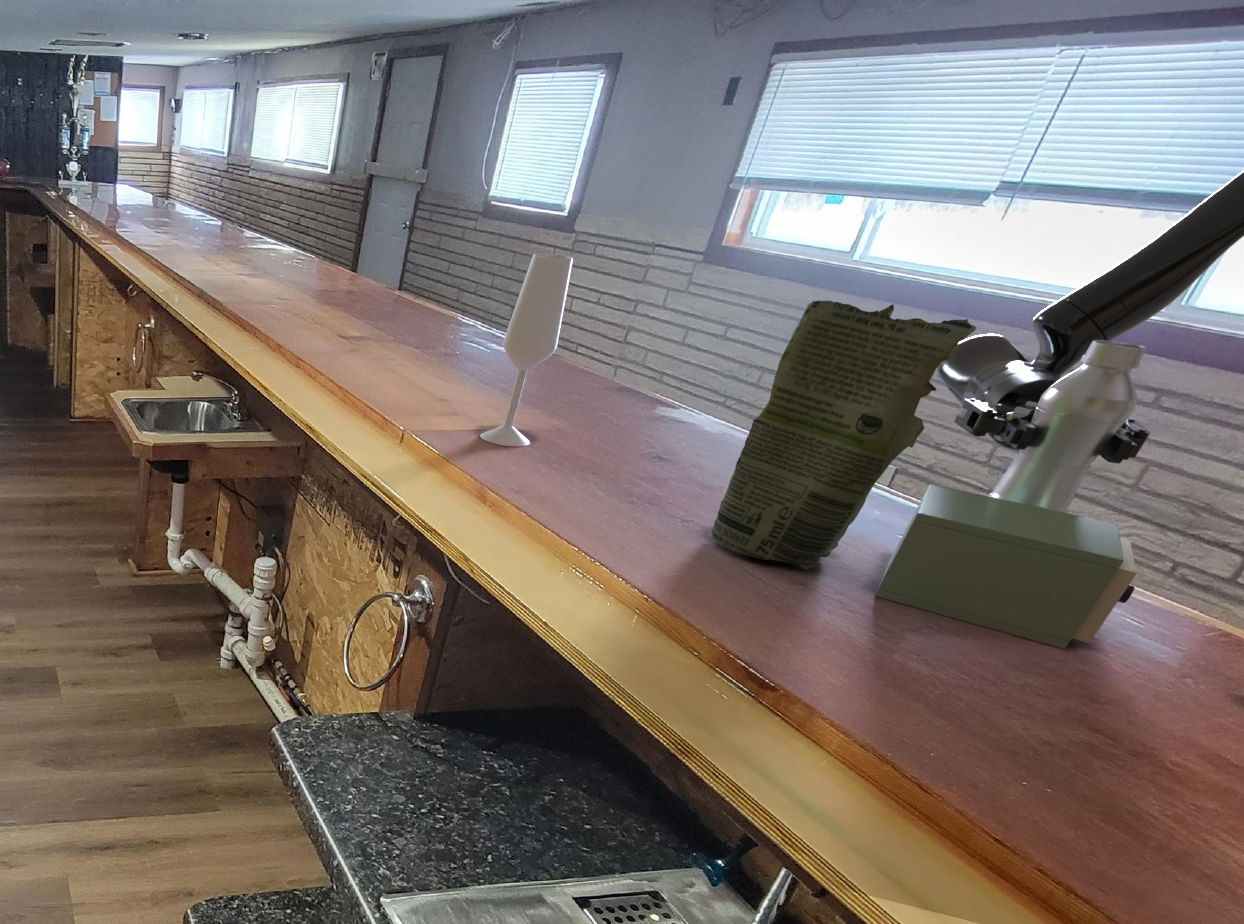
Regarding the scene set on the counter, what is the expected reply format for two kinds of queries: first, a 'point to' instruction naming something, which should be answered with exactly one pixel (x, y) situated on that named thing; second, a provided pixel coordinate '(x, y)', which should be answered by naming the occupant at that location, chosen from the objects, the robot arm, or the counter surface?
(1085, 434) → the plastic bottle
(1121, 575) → the drawer
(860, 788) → the counter surface
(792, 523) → the pouch
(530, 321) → the champagne flute
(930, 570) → the cabinet
